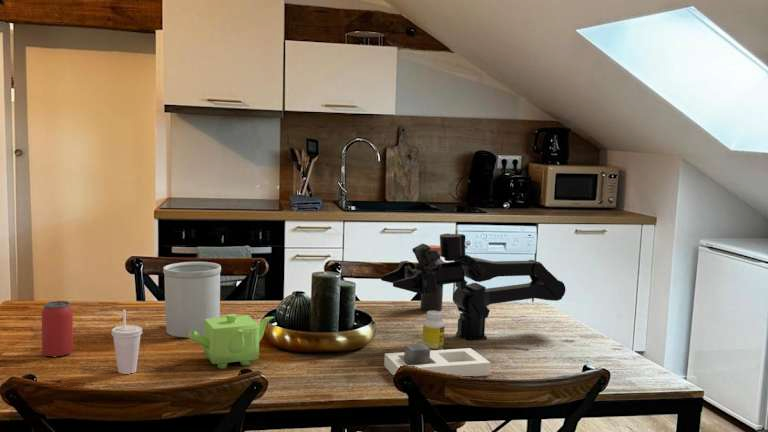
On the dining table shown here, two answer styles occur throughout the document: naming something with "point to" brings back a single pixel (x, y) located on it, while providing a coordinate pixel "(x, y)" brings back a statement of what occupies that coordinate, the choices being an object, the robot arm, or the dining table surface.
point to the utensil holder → (191, 296)
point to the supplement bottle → (433, 331)
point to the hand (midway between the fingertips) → (386, 281)
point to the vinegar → (435, 300)
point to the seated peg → (416, 354)
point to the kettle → (231, 339)
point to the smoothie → (126, 346)
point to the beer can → (57, 328)
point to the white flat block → (445, 362)
